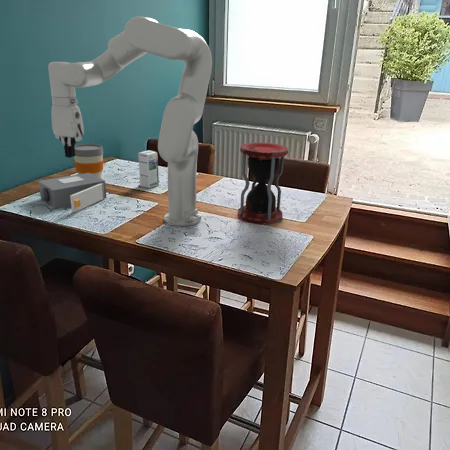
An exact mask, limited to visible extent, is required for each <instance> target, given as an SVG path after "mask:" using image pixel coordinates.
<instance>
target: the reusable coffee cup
mask: <svg viewBox="0 0 450 450" xmlns="http://www.w3.org/2000/svg"><path fill="white" fill-rule="evenodd" d="M74 146H75V156H74V157H73V158H74V160H73V163H74V167H75V172H77V174H83V173H91V174H93V175H95V176H97V177H99V178H101V179H103V177H102V176H103V175H102V174H103V171H104V158H103V157H104V156H103V155H104V147H103V146H102V145H101V144H96V143H83V144H76V145H74Z"/></svg>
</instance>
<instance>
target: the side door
mask: <svg viewBox="0 0 450 450" xmlns="http://www.w3.org/2000/svg"><path fill="white" fill-rule="evenodd" d="M70 199H71V213H76V212H78V211H80V210H83V209H85V208H87V207H89V206H91V205H94V204H95V203H98V202H99V201H102V200H105V198H104V186H103V183H100V184H98V185H95V186H93V187H90V188H88V189H85V190H83V191H80V192H78V193H75V194H73V195H70Z"/></svg>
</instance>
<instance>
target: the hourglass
mask: <svg viewBox="0 0 450 450" xmlns="http://www.w3.org/2000/svg"><path fill="white" fill-rule="evenodd" d="M239 151H240V153H242V162H241V163H242V166H241V175H242V178H243V179H244V181H245V185H244V188H243V189H242V191H241V193H240V207H238V209H237V217H238V218H239V219H240V220H242V221H243V222H246V223H250V224H255V225H270V224H271V225H272V224H276V223H278V222H281V220H282V219H283V215H284V214H283V211H282V210H281V208H280V207H281V198H282V197H281V196H282V189H281V187H280V186H279V179H280V177H281V176H282V174H283V172H284V161H285V160H284V159H285V156H287V155H288V153H289V148H288V146H285V145H284V144H279V143H272V142H257V141H254V142H247V143H243V144H241V145H240V150H239ZM247 156H248V157H247ZM246 163H247V164H246ZM246 166H247V168H248V170H249V173H251V175H252V176H253V179H252V181H253V182H252V183H251V186H250V179H249V177H247V175H246ZM278 170H279V171H278ZM277 171H278V173H277ZM275 174H276V175H275ZM274 176H275V177H274ZM267 181H268V182H267ZM257 182H258V183H257ZM266 182H267V183H266ZM273 182H274V187H276V190H277V197H276V196H275V193H274V192H273V190H272V184H273ZM249 187H251V190H249ZM248 190H249V191H248ZM247 191H248V193H247V194H246V192H247ZM245 194H246V198H245ZM276 198H277V199H276ZM244 201H245V202H244ZM244 204H245V205H244Z"/></svg>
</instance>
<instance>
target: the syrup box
mask: <svg viewBox="0 0 450 450" xmlns="http://www.w3.org/2000/svg"><path fill="white" fill-rule="evenodd" d="M137 154H138V169H139V170H138V171H139V185H140V186H141V187H142V188H143V187H144V188H147V189H151V188H154V187H157V186H159V185H160V182H159V179H160V178H159V161H158V160H159V159H158V156H159V155H158V152H157V151H154V150H149V149H148V150H144V151H141V152H138V153H137Z"/></svg>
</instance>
